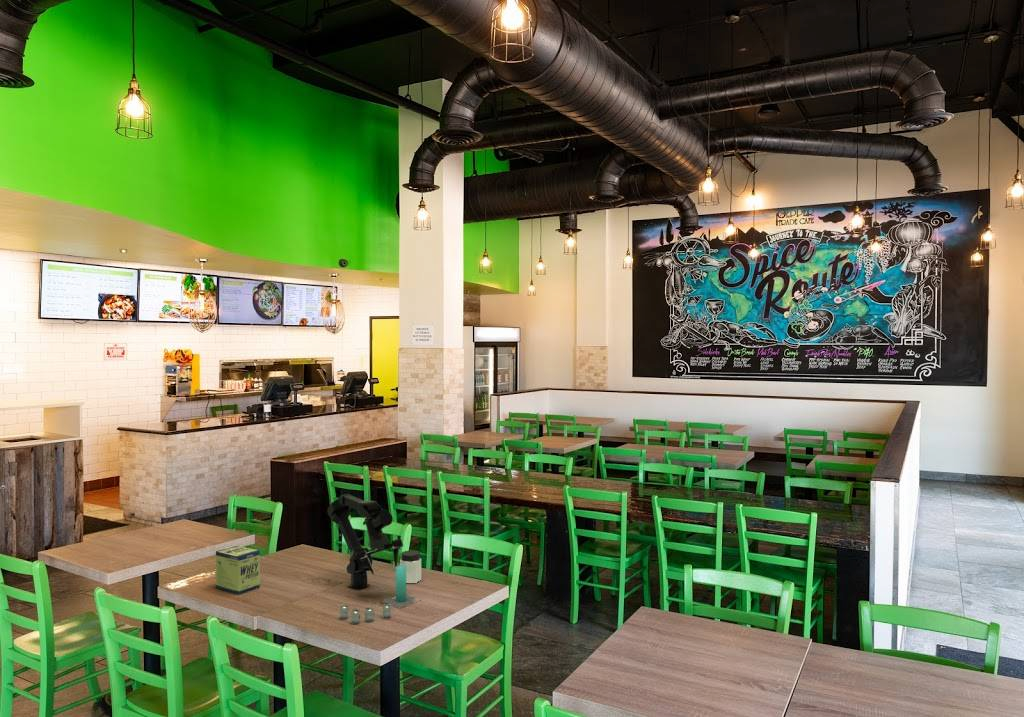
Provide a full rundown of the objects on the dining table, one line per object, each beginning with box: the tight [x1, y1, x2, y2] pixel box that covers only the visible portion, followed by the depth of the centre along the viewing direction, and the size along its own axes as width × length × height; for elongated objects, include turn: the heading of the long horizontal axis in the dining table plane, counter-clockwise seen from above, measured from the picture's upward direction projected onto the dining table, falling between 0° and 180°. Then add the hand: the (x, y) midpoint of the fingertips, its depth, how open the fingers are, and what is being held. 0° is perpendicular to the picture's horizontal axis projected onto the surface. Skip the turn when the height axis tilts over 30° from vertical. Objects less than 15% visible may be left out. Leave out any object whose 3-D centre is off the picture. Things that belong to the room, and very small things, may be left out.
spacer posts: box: [339, 604, 392, 625], centre depth 257 cm, size 15×14×4 cm
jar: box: [399, 549, 422, 584], centre depth 299 cm, size 9×8×12 cm
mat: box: [381, 594, 416, 608], centre depth 274 cm, size 11×11×1 cm
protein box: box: [215, 545, 261, 595], centre depth 290 cm, size 10×16×16 cm
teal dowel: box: [395, 565, 407, 602], centre depth 274 cm, size 4×4×13 cm
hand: (384, 570), depth 278 cm, fingers open, 9 cm apart
